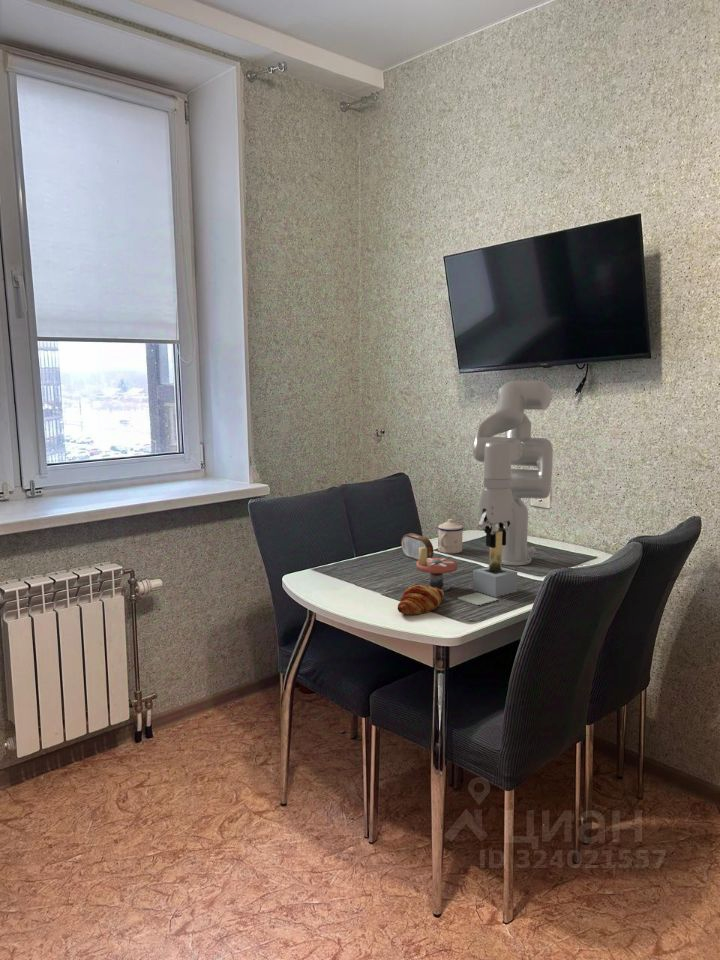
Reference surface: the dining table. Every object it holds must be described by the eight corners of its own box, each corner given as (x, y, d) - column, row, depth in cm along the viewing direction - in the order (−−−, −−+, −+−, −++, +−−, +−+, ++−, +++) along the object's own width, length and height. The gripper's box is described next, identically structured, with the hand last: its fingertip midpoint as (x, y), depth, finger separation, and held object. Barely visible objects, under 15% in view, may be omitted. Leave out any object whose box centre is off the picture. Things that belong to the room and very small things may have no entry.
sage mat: (477, 593, 205) (477, 592, 205) (498, 600, 199) (498, 599, 198) (457, 598, 200) (457, 597, 200) (478, 606, 194) (478, 604, 194)
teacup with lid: (444, 546, 262) (444, 515, 261) (466, 549, 257) (467, 518, 256) (429, 553, 252) (429, 521, 251) (452, 556, 247) (453, 524, 246)
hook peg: (494, 568, 210) (496, 528, 208) (503, 571, 207) (505, 531, 205) (486, 570, 208) (487, 530, 206) (495, 573, 205) (496, 532, 203)
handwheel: (416, 572, 204) (416, 550, 203) (416, 562, 216) (416, 541, 215) (458, 573, 203) (458, 551, 202) (456, 563, 215) (456, 542, 214)
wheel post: (437, 583, 216) (437, 563, 215) (455, 589, 209) (456, 569, 209) (417, 587, 211) (417, 568, 210) (435, 594, 205) (435, 574, 204)
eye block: (493, 584, 214) (494, 565, 213) (516, 591, 207) (517, 571, 206) (472, 590, 209) (473, 570, 208) (495, 597, 201) (495, 577, 201)
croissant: (432, 608, 203) (422, 582, 205) (460, 597, 198) (449, 571, 199) (391, 627, 186) (380, 599, 188) (420, 616, 181) (408, 587, 182)
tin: (434, 563, 240) (434, 538, 238) (427, 564, 238) (427, 540, 237) (406, 554, 252) (406, 530, 251) (399, 555, 250) (399, 532, 249)
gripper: (507, 478, 211) (505, 538, 214) (467, 485, 201) (466, 547, 205) (526, 482, 205) (525, 543, 208) (486, 489, 195) (485, 553, 199)
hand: (495, 545), depth 206 cm, fingers closed on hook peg, 3 cm apart
